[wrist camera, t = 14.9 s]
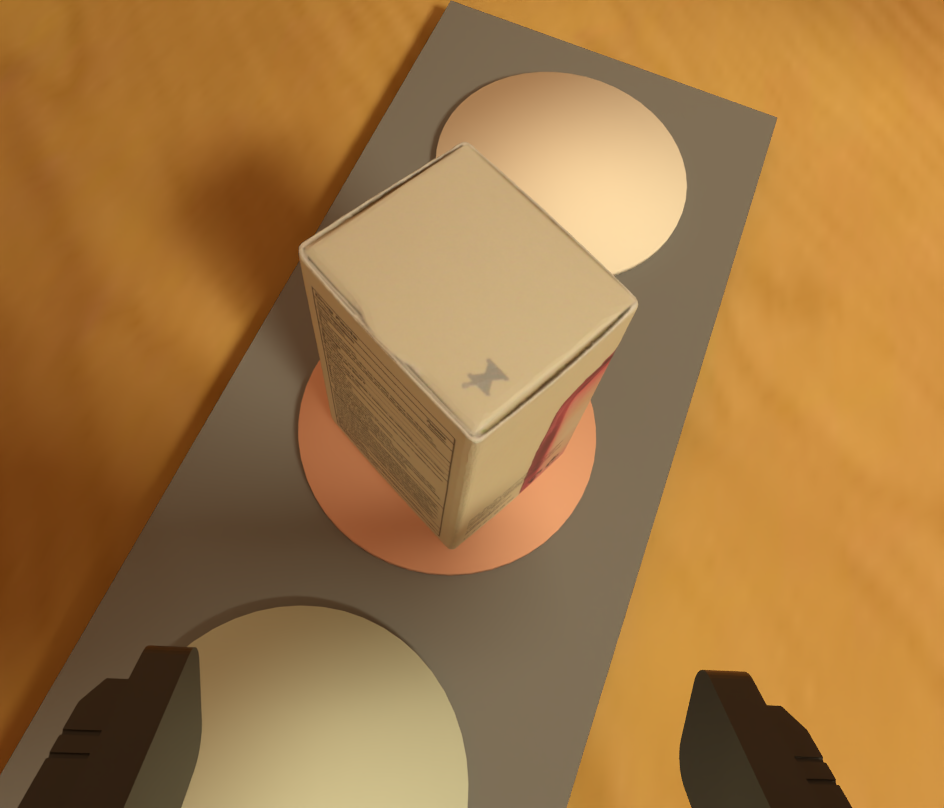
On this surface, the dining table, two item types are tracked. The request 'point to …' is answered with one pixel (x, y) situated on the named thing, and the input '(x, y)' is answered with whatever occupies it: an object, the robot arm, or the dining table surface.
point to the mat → (390, 518)
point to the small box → (459, 336)
